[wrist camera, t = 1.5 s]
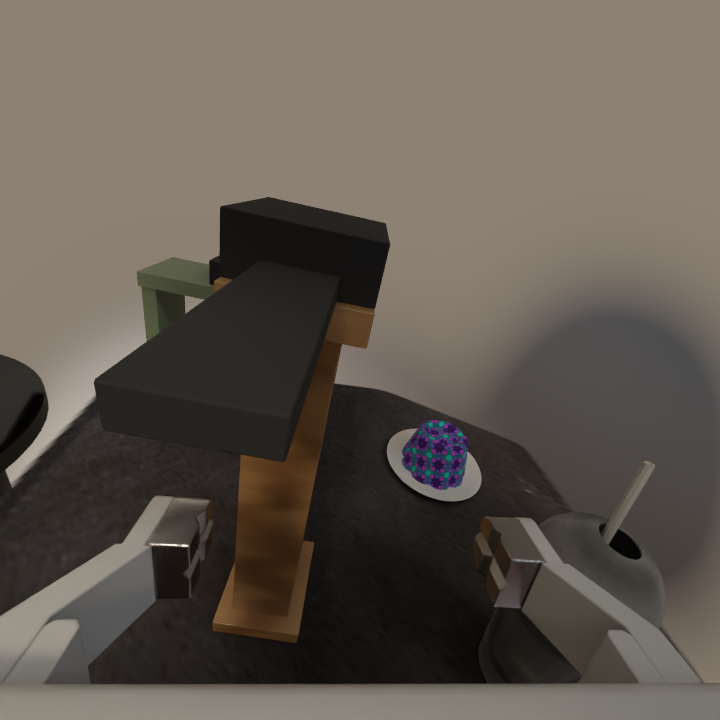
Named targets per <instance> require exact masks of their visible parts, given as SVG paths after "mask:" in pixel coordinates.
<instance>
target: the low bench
mask: <svg viewBox="0 0 720 720" xmlns="http://www.w3.org/2000/svg"><path fill="white" fill-rule="evenodd" d="M137 279H138V286H141V287H142V297H143V307H144V317H145V327H146V338H147V341H149V340H150V339H151V338H153V337H154V336H156V335H157V334H158V333H160V332H161V331H162V330H164V329H165V328H167V327H168V326H169V325H171V324H172V323H174V322H175V321H176V320H178V319H179V318H180V317H182V316H183V315H185V295H186V296H191V297H195V298H200V299H207V298H208V297H210V296H211V295H212V294H214V285H210V284H209V265H207V264H202V263H198V262H193V261H188V260H183V259H179V258H174V257H172V258H170V259H167V260H165V261H163V262H160V263H157V264H155V265H152V266H150V267H147V268H145V269H142V270H140V271H137Z"/></svg>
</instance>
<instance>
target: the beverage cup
mask: <svg viewBox="0 0 720 720" xmlns="http://www.w3.org/2000/svg"><path fill="white" fill-rule="evenodd" d="M654 468H655V465H654V464H652V463H650V462H648V461H644V462H643V464H642V465H641V467H640V469H639V470H638V472H637V474H636V476H635V477H634V479H633V481H632V482H631V484H630V486H629V488H628V489H627V491H626V493H625V494H624V496H623V498H622V499H621V501H620V503H619V505H618V506H617V508H616V510H615V511H614V513H613V515H612V516H611V518H610V520H609V519H606V518H604V517H601V516H598V515H594V514H589V513H582V512H570V513H565V514H560V515H556V516H553V517H551V518H548V519H547V520H545V521H544V522H543V523H542V524H540V525H539V526H538V527H539V529H540V530H541V532H542V533H543V535H544V536H545V537H546V539H547V540H548V542H549V543H550V545H551V546H552V548H553V549H554V550H555V552H556V553H557V555H558V556H559V558H560V559H561V560H562V562H563V563H564V564H569V565H571V566H572V567H573V568H575V569H576V570H578V571H579V572H580V573H582V574H583V575H584V576H586V577H587V578H589V579H590V580H591V581H593V582H594V583H596V584H597V585H598V586H600V587H601V588H602V589H604V590H605V591H607V592H608V593H609V594H611V595H612V596H614V597H615V598H616V599H618V600H619V601H620V602H622V603H623V604H625V605H626V606H627V607H629V608H630V609H631V610H633V611H634V612H636V613H637V614H638V615H640V616H641V617H643V618H644V619H645V620H647V621H648V622H649V623H651V624H652V625H654V626H655V627H656V628H658V629H659V627H660V625H661V622H662V620H663V618H664V616H665V610H666V596H665V589H664V583H663V579H662V576H661V573H660V571H659V569H658V567H657V566H656V563H655V561H654V560H653V558H652V556H651V555H650V553H649V552H648V551H647V549H646V548H645V547H644V546H643V544H642V543H641V542H639V541H638V540H637V539H636V538H635V537H634V536H633V535H632V534H631V533H630V532H628V531H627V530H625V529H624V528H623V527H621V526H620V525H621V523H622V521H623V520H624V518H625V516H626V515H627V513H628V511H629V510H630V508H631V506H632V505H633V503H634V501H635V500H636V498H637V496H638V495H639V493H640V491H641V490H642V488H643V486H644V485H645V483H646V481H647V480H648V478H649V476H650V475H651V473H652V471H653V470H654ZM521 609H522V608H507V607H497V608H496V610H495V612H494V614H493V616H492V618H491V620H490V622H489V624H488V626H487V628H486V631H485V634H484V637H483V639H482V640H481V643H480V646H479V663H480V667H481V671H482V673H483V675H484V677H485V679H486V681H487V683H488V684H570V683H572V682H574V681H575V680H577V679H579V678H580V677H581V676H582V675H581V674H580V673H579V672H578V671H577V670H576V668H575V667H574V666H573V665H572V664H571V663H570V662H569V661H568V660H567V659H566V658H565V657H564V656H563V655H562V653H561V652H560V651H559V650H558V649H557V648H556V647H555V646H554V645H553V644H552V643H551V642H550V641H549V639H548V638H547V637H546V636H545V635H544V634H543V633H542V632H541V631H540V630H539V629H538V628H537V627H536V625H535V624H534V623H533V622H532V621H531V620H530V619H529V618H528V617H527V616H526V615H525V614H524V613H523V611H522V610H521Z"/></svg>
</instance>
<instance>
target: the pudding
mask: <svg viewBox="0 0 720 720" xmlns="http://www.w3.org/2000/svg"><path fill="white" fill-rule="evenodd" d="M387 457H388V460H389V463H390V465H391V467H392V469H393V470H394V472H395V473H396V474H397V475H398V477H399V478H400V479H401V480H402V481H403V482H405V483H406V484H407V485H408V486H410V487H411V488H413V489H414V490H416V491H417V492H419V493H421V494H423V495H426V496H428V497H431V498H434V499H437V500H443V501H461V500H465V499H468V498H470V497H471V496H473V495H474V494H475V493H476V492H477V491H478V490H479V488H480V485H481V472H480V469H479V466H478V464H477V463H476V461H475V459H474V458H473V457H472V455H471V454H470V453H469V452H468V440H467V438H466V437H465V436H464V435H463V432H462V431H461V430H460V429H459V428H458V427H456V426H452V425H451V424H450V423H449V422H447V421H438V420H429V421H427V422H426V423H423V424H422V425H421V426H419V428H418V429H408V430H403V431H401V432H398V433H397V434H395V435H394V436H393V437H392V438H391V439H390V441H389V443H388V446H387Z"/></svg>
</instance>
